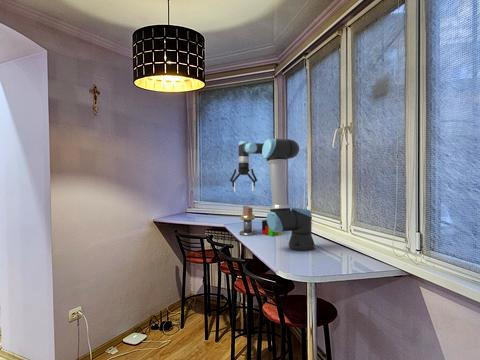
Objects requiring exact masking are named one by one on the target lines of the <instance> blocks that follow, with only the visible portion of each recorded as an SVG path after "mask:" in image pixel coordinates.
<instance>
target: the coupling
mask: <svg viewBox="0 0 480 360" xmlns="http://www.w3.org/2000/svg"><path fill="white" fill-rule="evenodd" d="M255 217H256V215H255V214H253V207H251V206H249V205H242V214H240V220H243V221H244V220H252V221H253V220H255V219H256V218H255Z"/></svg>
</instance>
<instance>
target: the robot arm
mask: <svg viewBox="0 0 480 360" xmlns="http://www.w3.org/2000/svg"><path fill="white" fill-rule="evenodd" d="M237 147H238V169H237V168H234V169H233V170H234V171H233V173H232V175H231V177H230V179H229V182H231V184H232V185H231V186H232V187H233V192H236V181H237V180H238V178H239V177H240V176H247V177H248V178H249V179H250V180H251V192H254V191H255V189H254V187H256V182H258V178H257V177H256V174H255V173H254V169H253V168H250V163H249V160H250V157H249V155H257V154H258V155H262V157H263V159H265V160H266V163H267V164H268V165H269V174H270V175H269V176H270V177H269V179H270V188H271V189H270V191H271V204H272V205H271V207H270V208H269V210H270V211H269V212H268V213H267V214H266V220H267V224H268V226H269V228H270V229H271V230H272V231H273V232H282V233H284V232H291V234H290V238H289V241H288V248H289V249H291V250H295V251H312V250H314V249H315V248H316V246H315V240H314V239H313V236H312V235H313V234H312V233H313V231H312V230H313V229H312V228H313V227H312V224H313V223H312V222H313V221H312V218H313V216H312V210H310V209H306V208H301V207H300V208H299V207H297V208H296V207H290V205H288V197H287V196H288V195H287V184H286V169H285V163H286V162H287V159H290V160H291V159H294V158H296V157H297V156H298V155H299V153H300V145H299V144H298V141H295V140H294V139H290V138H289V139H287V138H286V139H285V138H268V139H266V140H265V141H264V143H263V142H261V143H260V142H259V143H258V142H257V143H256V142H249V141H247V140H240V141H238V146H237ZM249 172H251V174H250V173H249ZM237 173H238V174H237ZM236 174H237V175H236ZM251 175H252V176H251ZM234 177H235V178H234Z"/></svg>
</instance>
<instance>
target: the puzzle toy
mask: <svg viewBox="0 0 480 360" xmlns="http://www.w3.org/2000/svg"><path fill="white" fill-rule="evenodd" d="M261 234H262V235H263V236H270V237H275V236H276V237H277V236H281V235H283V232H273V231H272V230H271V229H270V228H269V226H268V224H267V219H264V220H261Z"/></svg>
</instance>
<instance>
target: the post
mask: <svg viewBox="0 0 480 360" xmlns="http://www.w3.org/2000/svg"><path fill="white" fill-rule="evenodd" d="M252 221H253V220H243V229H242V228H239V229H240V231H239V232H238V233H239V236H242V237H243V236H244V237H252V236H256V235H257V232H256V228H255V227H253V222H252Z"/></svg>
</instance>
